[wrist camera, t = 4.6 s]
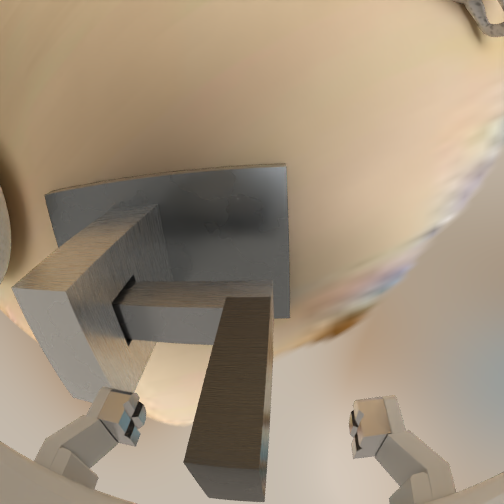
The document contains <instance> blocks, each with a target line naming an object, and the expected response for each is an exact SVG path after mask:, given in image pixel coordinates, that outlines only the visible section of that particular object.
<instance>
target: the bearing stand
mask: <svg viewBox="0 0 504 504" xmlns="http://www.w3.org/2000/svg"><path fill="white" fill-rule="evenodd" d="M45 200H46V204H47V208H48V212H49V216H50V220H51V223H52V227H53V230H54V234H55V237H56V241H57V244H58V247H59V248H58V249H57V250H55V251H54V252H53V253H52V254H50V255H49V256H48V257H47V258H45V259H44V260H43V261H42V262H41V263H39V264H38V265H37V266H36V267H35V268H33V269H32V270H31V271H30V272H29V273H28V274H26V275H25V276H24V277H23V278H22V279H21V280H20V281H18V282H17V283H16V284H15V285H14V286H13V287H12V290H13V292H14V295H15V297H16V299H17V301H18V303H19V306H20V308H21V310H22V312H23V314H24V316H25V318H26V320H27V322H28V324H29V326H30V328H31V330H32V332H33V334H34V335H35V337H36V339H37V341H38V343H39V345H40V346H41V348H42V350H43V352H44V353H45V355H46V357H47V358H48V360H49V362H50V363H51V365H52V367H53V368H54V370H55V371H56V373H57V375H58V376H59V378H60V379H61V381H62V382H63V384H64V385H65V387H66V388H67V390H68V391H69V392H70V394H71V395H72V397H73V398H77V399H80V400H84V401H88V402H91V403H93V401H94V399H95V397H96V396H97V394H98V392H99V390H100V389H101V388H102V387H103V386H104V387H109V388H114V389H118V390H123V391H128V392H134V391H135V389H136V387H137V384H138V382H139V380H140V378H141V375H142V373H143V371H144V369H145V367H146V364H147V362H148V360H149V358H150V356H151V353H152V351H153V349H154V347H155V345H156V343H157V342H154V341H142V340H131V339H125V337H124V335H123V332H122V330H121V327H120V325H119V322H118V320H117V317H116V314H115V312H114V309H113V306H112V304H111V303H112V302H113V301H114V299H115V298H116V297H117V295H118V294H119V293H120V291H121V290H122V289H123V287H124V286H125V285H126V283H127V282H128V281H251V280H272V282H273V305H274V318H290V286H289V229H288V197H287V172H286V164H263V165H244V166H229V167H216V168H204V169H194V170H184V171H174V172H166V173H157V174H149V175H142V176H135V177H128V178H121V179H114V180H108V181H102V182H96V183H90V184H85V185H79V186H74V187H69V188H64V189H59V190H54V191H51V192H49V193H47V194H45Z"/></svg>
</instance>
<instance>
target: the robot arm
mask: <svg viewBox="0 0 504 504" xmlns="http://www.w3.org/2000/svg"><path fill="white" fill-rule="evenodd" d="M353 408H354V410H353V411H352V412H351V414H350V419H349V430H350V435H351V436H352V437H353V438H354V439H353V441H352V444H351V446H352V453H353V459H355V458H364V457H372V456H375V458H376V459H377V461H378V462H380V464H381V465H382V466H383V468H384V469H385V470H386V471H387V472H388V473H389V474H390V476H391V477H392V478H393V479H394V480H395V481H396V482H397V483H398V485H399V486H400V488H399V489H398V490H397V491H396V492H395V493H394V494H393V495H392V496H391V497H390V498H389V502H390V504H504V472H502V473H500V474H498V475H496V476H494V477H492V478H490V479H487V480H485V481H483V482H481V483H479V484H476V485H474V486H472V487H469V488H467V489H464V490H462V491H459V492H456V489H455V485H454V481H453V477H452V473H451V469H450V466H449V463H448V462H446V461H445V460H444V459H443V458H442V457H440V456H439V455H438V454H437V453H436V452H434V451H433V450H432V449H431V448H430V447H429V446H427V445H426V444H425V443H424V442H423V441H421V440H420V439H419V438H418V437H417V436H416V435H414V434H413V433H412V432H411V431H410V430H408V431H406V429H405V426H404V422H403V418H402V415H401V411H400V408H399V404H398V401H397V398H396V396H395V395H392V396H385V397H375V398H368V399H360V400H355V401H354V404H353ZM145 420H146V409H145V407H144V405H143V404H142V403H141V402H139V396H138V394H137V393H134V392H128V391H123V390H118V389H114V388H109V387H104V386H103V387H102V388H101V389H100V390H99V392H98V394H97V396H96V397H95V399H94V401H93V403H92V405H91V407H90V409H89V411H88V413H87V415H82V416H81V417H79V418H78V419H76V420H75V421H73V422H72V423H70V424H68V425H67V426H66V427H64V428H62V429H61V430H59V431H58V432H56V433H54V434H53V435H51V436H49V437H48V438H46V439H45V441H44V443H43V445H42V447H41V449H40V450H39V452H38V454H37V456H36V458H35V460H34V461H32V460H30V459H29V458H27V457H25V456H23V455H22V454H20V453H18V452H17V451H15V450H13V449H12V448H10V447H9V446H7V445H5V444H4V443H2V442H1V441H0V504H136V503H133V502H130V501H126V500H123V499H120V498H117V497H114V496H111V495H108V494H105V493H102V492H100V491H97V490H95V486H96V483H97V480H98V476H97V475H96V474H95V473H94V472H93V471H92V470H91V469H90V468H91V467H92V466H93V465H94V464H96V463H97V462H98V461H99V460H100V459H101V458H102V457H103V456H105V455H106V454H107V453H108V452H109V451H110V450H112V449H113V448H114V447H115V446H116V445H117V444H118V443H122V444H126V445H131V446H136V444H137V442H138V439H139V437H140V431H139V428H141V427H142V426H143V425H144V423H145ZM117 442H118V443H117Z"/></svg>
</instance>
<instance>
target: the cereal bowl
mask: <svg viewBox="0 0 504 504" xmlns="http://www.w3.org/2000/svg"><path fill="white" fill-rule="evenodd" d="M10 253H11V229H10V220H9V215H8V209H7V205H6V201H5V198H4V195H3V192H2V189H1V187H0V284H1V282H2V280H3V279H4V276H5V274H6V271H7V269H8V264H9V260H10Z"/></svg>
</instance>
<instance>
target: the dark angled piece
mask: <svg viewBox="0 0 504 504" xmlns="http://www.w3.org/2000/svg"><path fill="white" fill-rule="evenodd" d="M111 304H112V306H113V309H114V312H115V314H116V317H117V320H118V322H119V325H120V327H121V330H122V332H123V335H124V337H125V339H131V340H142V341H154V342H167V343H183V344H204V345H213V348H212V352H211V356H210V360H209V364H208V368H207V371H206V375H205V379H204V383H203V387H202V391H201V395H200V399H199V403H198V407H197V410H196V414H195V418H194V422H193V427H192V431H191V434H190V438H189V442H188V446H187V450H186V455H185V459H184V464H185V465H186V467H187V468H188V470H189V471H190V473H191V474H192V475H193V477H194V478H195V480H196V481H197V483H198V484H199V485H200V487H201V488H202V489H203V491H204V492H205V493H206V495H207V496H208V497H209V498H216V499H225V500H226V499H227V500H238V501H253V502H264V501H265V488H266V474H267V459H268V443H269V427H270V408H271V387H272V367H273V328H274V305H273V282H272V280H251V281H128V282H127V283H126V285H125V286H124V287H123V289H122V290H121V291H120V293H119V294H118V295H117V297H116V298H115V299H114V301H113V302H112V303H111Z"/></svg>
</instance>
